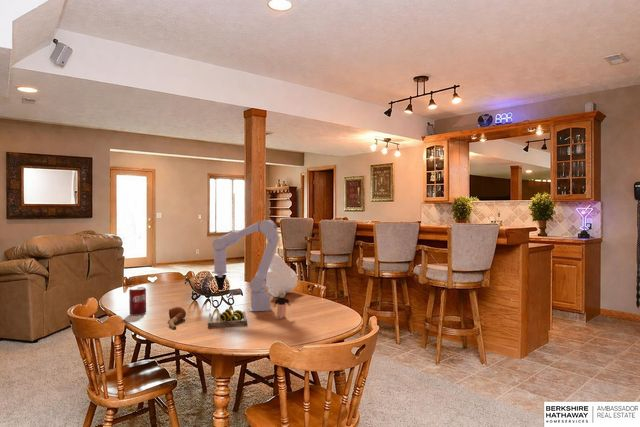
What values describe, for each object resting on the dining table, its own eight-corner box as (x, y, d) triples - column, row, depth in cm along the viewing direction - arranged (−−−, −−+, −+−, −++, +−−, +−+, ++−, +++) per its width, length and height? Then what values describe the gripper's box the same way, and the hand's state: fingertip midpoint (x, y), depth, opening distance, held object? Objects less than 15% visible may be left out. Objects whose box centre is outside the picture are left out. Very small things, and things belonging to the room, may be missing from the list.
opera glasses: (219, 323, 185) (217, 312, 184) (226, 318, 190) (225, 307, 189) (237, 325, 181) (236, 314, 180) (244, 320, 186) (243, 309, 185)
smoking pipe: (185, 317, 192) (185, 305, 192) (187, 328, 174) (187, 314, 174) (168, 319, 189) (168, 306, 189) (168, 330, 172) (168, 316, 172)
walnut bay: (245, 315, 194) (245, 311, 194) (247, 325, 178) (247, 320, 178) (209, 318, 190) (209, 313, 190) (207, 327, 174) (207, 323, 174)
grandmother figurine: (275, 320, 186) (275, 291, 186) (272, 318, 189) (272, 290, 189) (291, 318, 189) (291, 289, 189) (288, 316, 193) (288, 288, 193)
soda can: (149, 312, 201) (149, 287, 201) (137, 316, 194) (136, 290, 194) (138, 311, 204) (138, 286, 204) (126, 314, 197) (125, 289, 197)
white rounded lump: (283, 277, 260) (262, 248, 248) (304, 275, 251) (283, 244, 240) (266, 309, 241) (243, 279, 230) (288, 307, 233) (265, 275, 222)
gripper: (212, 260, 213) (212, 287, 214) (211, 264, 199) (211, 293, 199) (226, 260, 215) (226, 287, 215) (226, 263, 201) (227, 292, 201)
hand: (220, 289), depth 207 cm, fingers closed
